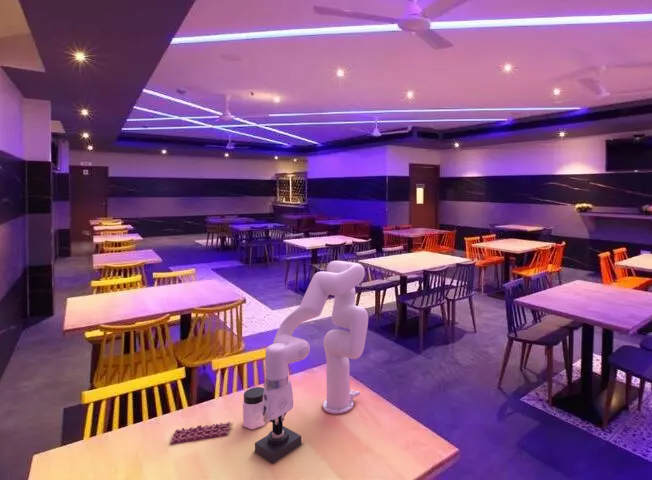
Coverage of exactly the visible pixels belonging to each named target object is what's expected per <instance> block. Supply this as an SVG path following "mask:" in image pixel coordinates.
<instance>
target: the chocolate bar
mask: <svg viewBox="0 0 652 480" xmlns="http://www.w3.org/2000/svg"><path fill="white" fill-rule="evenodd" d="M230 425H231V422H230V421H227V422H226V423H223V422H220V423H213V424H211V425H209V426H208V424H205V426H202V424H200V425H196V426H197V427H193V426H191V427H189V428H185V427H181V429H175V431H174V433H173V437H172V438H171V445H176V444H182V443H189V442H196V441H202V440H207V439H209V440H210V439H214V438H220V437H226V436H228V433H229V431H231V428H232V427H230Z"/></svg>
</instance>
